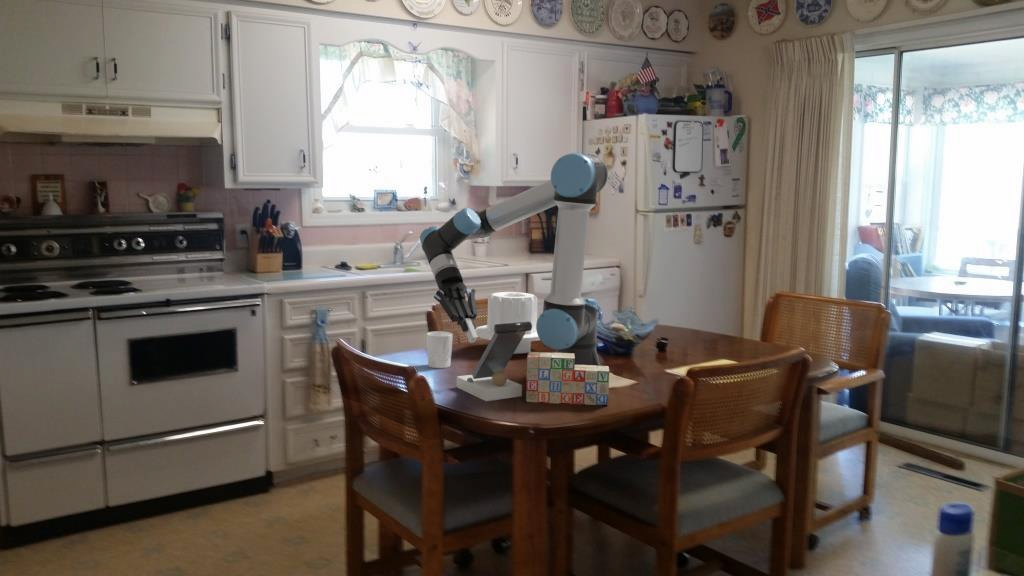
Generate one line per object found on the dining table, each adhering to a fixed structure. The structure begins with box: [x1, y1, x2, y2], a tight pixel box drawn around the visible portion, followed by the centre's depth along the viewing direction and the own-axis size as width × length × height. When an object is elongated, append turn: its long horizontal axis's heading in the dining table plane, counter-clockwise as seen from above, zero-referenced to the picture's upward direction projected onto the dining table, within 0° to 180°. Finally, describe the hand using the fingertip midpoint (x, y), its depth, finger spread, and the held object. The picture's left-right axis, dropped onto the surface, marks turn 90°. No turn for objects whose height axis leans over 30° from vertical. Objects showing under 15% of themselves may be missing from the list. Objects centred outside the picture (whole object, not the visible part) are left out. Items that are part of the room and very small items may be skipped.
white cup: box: [426, 330, 453, 369], centre depth 251 cm, size 8×8×10 cm
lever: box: [471, 322, 532, 379], centre depth 217 cm, size 2×10×21 cm
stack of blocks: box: [525, 351, 610, 406], centre depth 215 cm, size 21×6×12 cm, turn 84°
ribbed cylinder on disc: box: [475, 291, 541, 355], centre depth 275 cm, size 25×25×19 cm
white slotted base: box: [456, 370, 523, 402], centre depth 222 cm, size 16×11×7 cm
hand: (473, 340), depth 228 cm, fingers closed
